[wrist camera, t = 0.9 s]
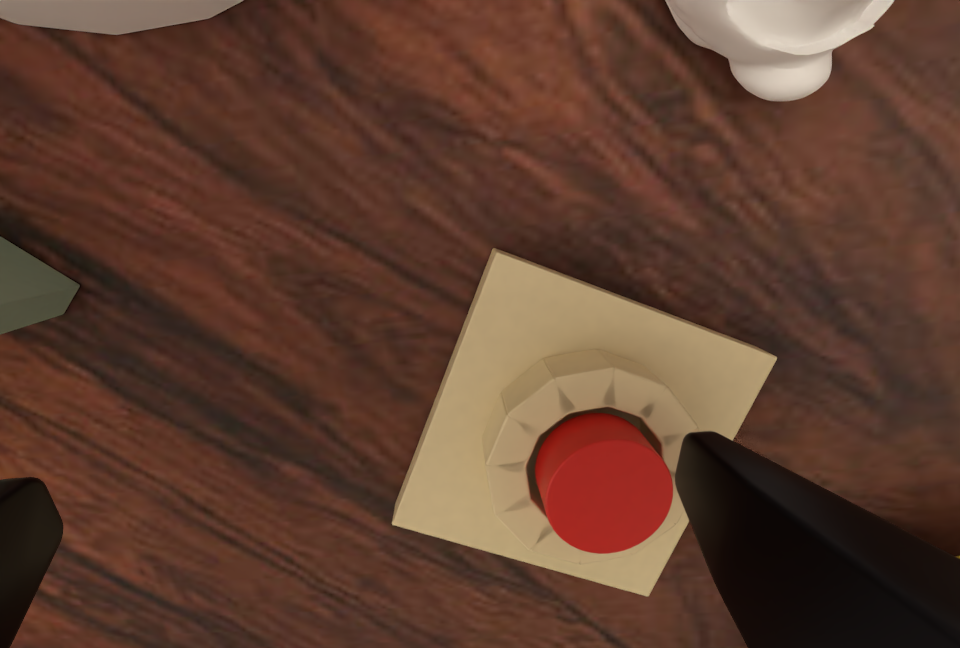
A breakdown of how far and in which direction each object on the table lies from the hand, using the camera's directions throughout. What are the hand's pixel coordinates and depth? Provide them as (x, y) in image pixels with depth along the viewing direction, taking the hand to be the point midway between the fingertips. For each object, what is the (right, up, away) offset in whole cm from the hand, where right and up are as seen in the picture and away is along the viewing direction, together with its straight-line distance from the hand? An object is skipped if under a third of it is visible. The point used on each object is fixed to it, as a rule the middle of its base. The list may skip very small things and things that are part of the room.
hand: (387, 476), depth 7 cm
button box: (+5, -2, +11) cm, 12 cm away
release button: (+5, -2, +8) cm, 10 cm away
